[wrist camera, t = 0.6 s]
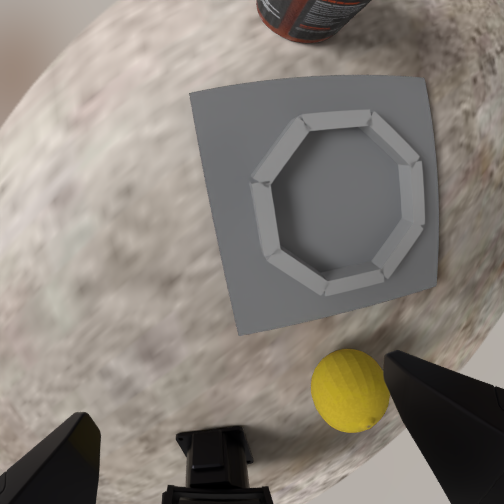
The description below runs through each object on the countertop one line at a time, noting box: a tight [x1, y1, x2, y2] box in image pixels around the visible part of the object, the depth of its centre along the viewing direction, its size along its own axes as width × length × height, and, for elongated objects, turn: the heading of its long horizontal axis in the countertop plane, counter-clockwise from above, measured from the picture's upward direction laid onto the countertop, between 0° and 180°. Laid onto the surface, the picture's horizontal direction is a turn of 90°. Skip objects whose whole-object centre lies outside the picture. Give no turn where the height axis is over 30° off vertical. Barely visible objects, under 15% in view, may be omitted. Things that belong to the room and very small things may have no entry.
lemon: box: [311, 349, 390, 433], centre depth 20 cm, size 6×6×8 cm
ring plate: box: [189, 75, 439, 336], centre depth 19 cm, size 16×16×3 cm
